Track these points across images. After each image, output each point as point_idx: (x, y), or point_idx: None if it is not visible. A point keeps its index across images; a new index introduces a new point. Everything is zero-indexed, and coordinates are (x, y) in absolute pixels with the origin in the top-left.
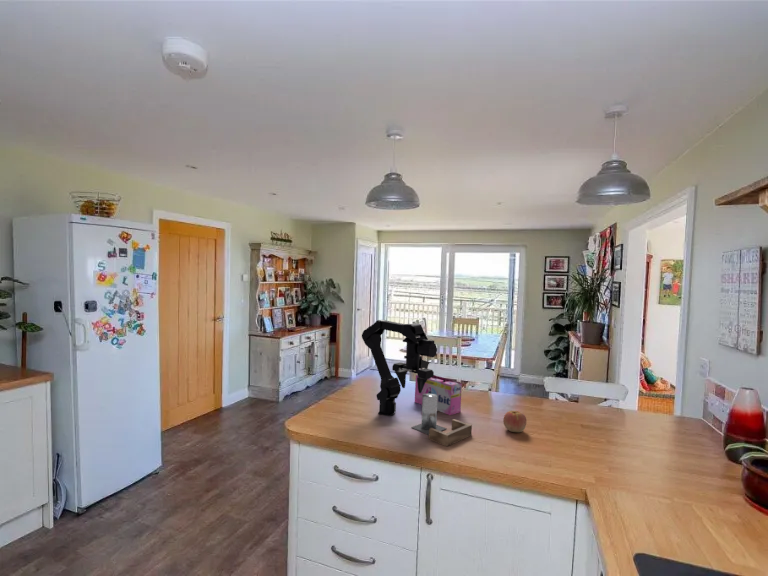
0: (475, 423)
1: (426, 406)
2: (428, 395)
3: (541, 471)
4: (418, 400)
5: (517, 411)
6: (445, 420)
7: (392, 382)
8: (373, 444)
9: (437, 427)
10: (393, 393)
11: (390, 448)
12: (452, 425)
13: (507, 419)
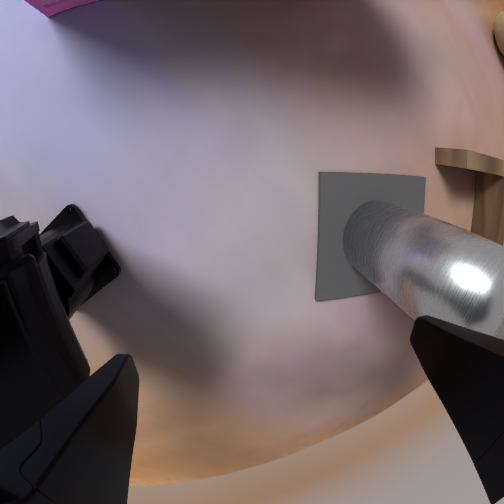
0: (437, 34)
1: None
2: (493, 324)
3: None
4: (65, 2)
5: None
6: (356, 73)
7: (8, 410)
8: (308, 442)
9: (399, 201)
10: (77, 356)
11: (356, 421)
12: (451, 165)
13: None
